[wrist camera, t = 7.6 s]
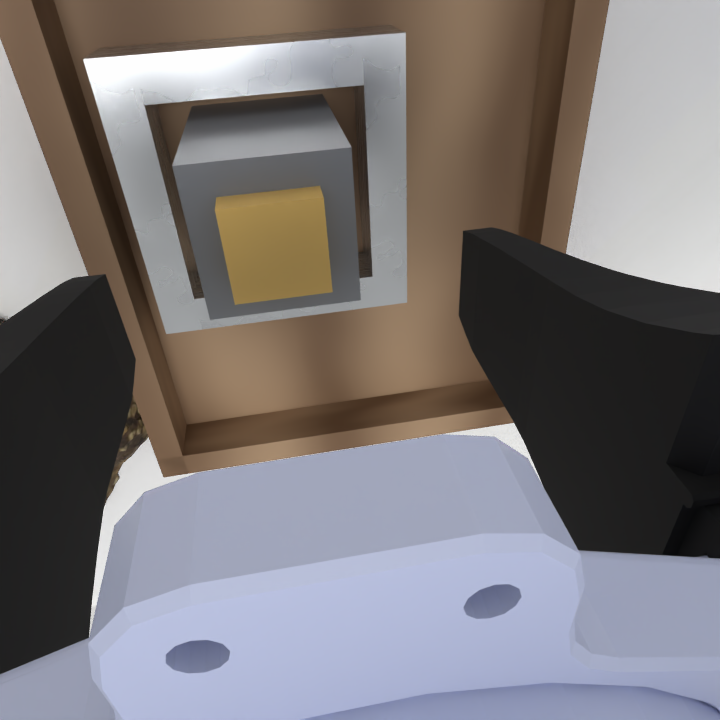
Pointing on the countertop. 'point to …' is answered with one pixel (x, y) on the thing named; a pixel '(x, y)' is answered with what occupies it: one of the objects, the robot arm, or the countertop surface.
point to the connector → (269, 205)
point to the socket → (244, 78)
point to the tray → (424, 211)
